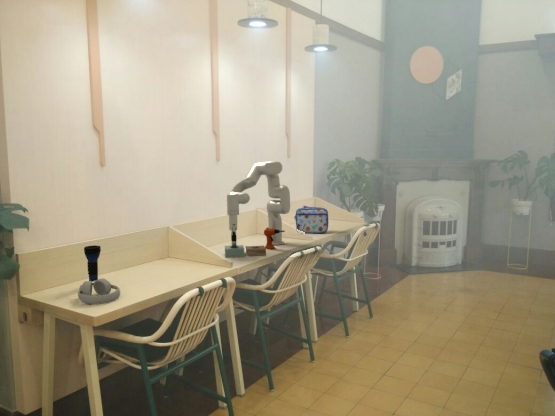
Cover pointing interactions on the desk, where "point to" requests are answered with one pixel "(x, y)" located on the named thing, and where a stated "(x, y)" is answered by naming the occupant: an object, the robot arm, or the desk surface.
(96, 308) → the desk surface
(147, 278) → the desk surface
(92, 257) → the flashlight
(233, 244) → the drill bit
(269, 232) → the toy drill
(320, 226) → the lunch box
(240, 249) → the rack holder
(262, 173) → the robot arm
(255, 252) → the socket block
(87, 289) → the headphones
